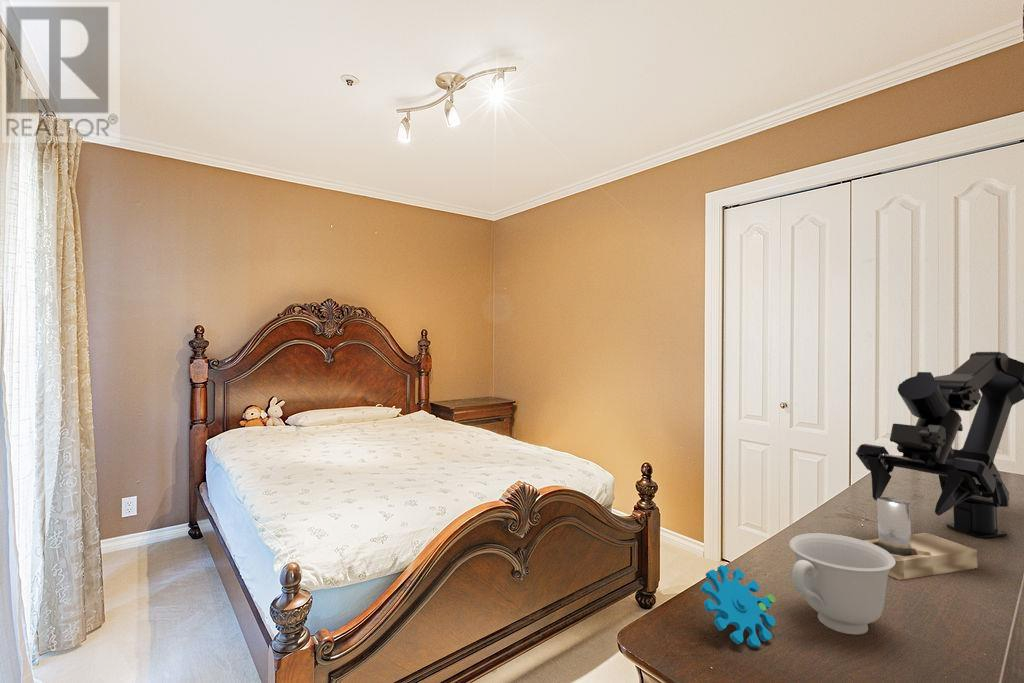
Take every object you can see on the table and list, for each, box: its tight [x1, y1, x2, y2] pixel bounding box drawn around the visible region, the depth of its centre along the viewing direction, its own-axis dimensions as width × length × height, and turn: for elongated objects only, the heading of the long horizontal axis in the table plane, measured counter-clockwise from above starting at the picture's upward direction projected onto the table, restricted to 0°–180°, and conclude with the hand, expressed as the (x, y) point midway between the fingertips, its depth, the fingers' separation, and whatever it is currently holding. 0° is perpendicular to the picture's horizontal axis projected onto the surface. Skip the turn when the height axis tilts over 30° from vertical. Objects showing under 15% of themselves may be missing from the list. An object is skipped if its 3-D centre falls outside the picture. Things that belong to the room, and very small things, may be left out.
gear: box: [700, 564, 776, 648], centre depth 66 cm, size 11×6×10 cm
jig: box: [863, 532, 979, 581], centre depth 83 cm, size 16×8×3 cm, turn 101°
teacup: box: [788, 532, 896, 636], centre depth 66 cm, size 12×15×10 cm
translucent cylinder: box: [876, 496, 912, 557], centre depth 82 cm, size 4×4×11 cm
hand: (904, 506), depth 84 cm, fingers open, 9 cm apart
